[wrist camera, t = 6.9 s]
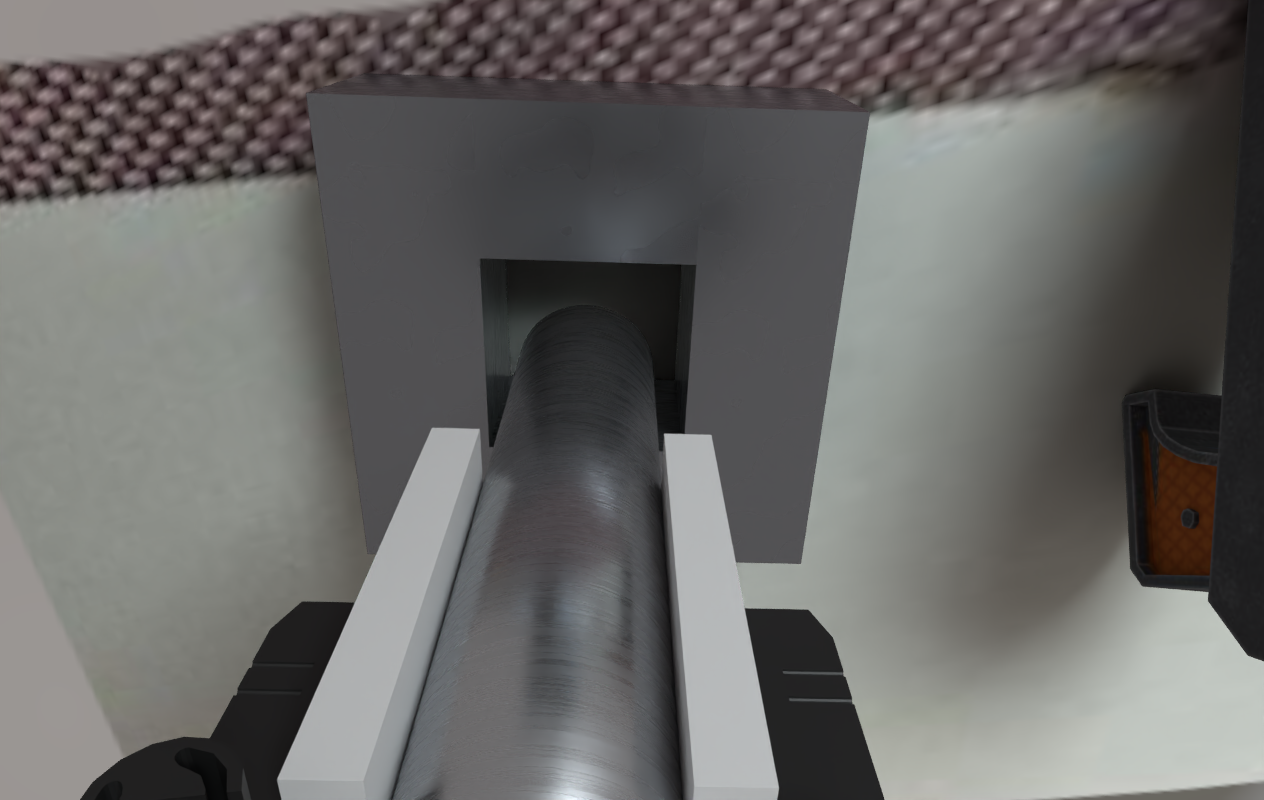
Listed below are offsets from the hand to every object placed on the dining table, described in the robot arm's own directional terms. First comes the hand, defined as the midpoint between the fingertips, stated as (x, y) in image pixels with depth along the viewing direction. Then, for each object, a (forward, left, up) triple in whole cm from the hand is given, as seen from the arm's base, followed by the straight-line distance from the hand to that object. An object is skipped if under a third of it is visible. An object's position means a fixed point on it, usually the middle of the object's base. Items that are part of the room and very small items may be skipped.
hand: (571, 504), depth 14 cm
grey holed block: (+5, 0, -10) cm, 11 cm away
